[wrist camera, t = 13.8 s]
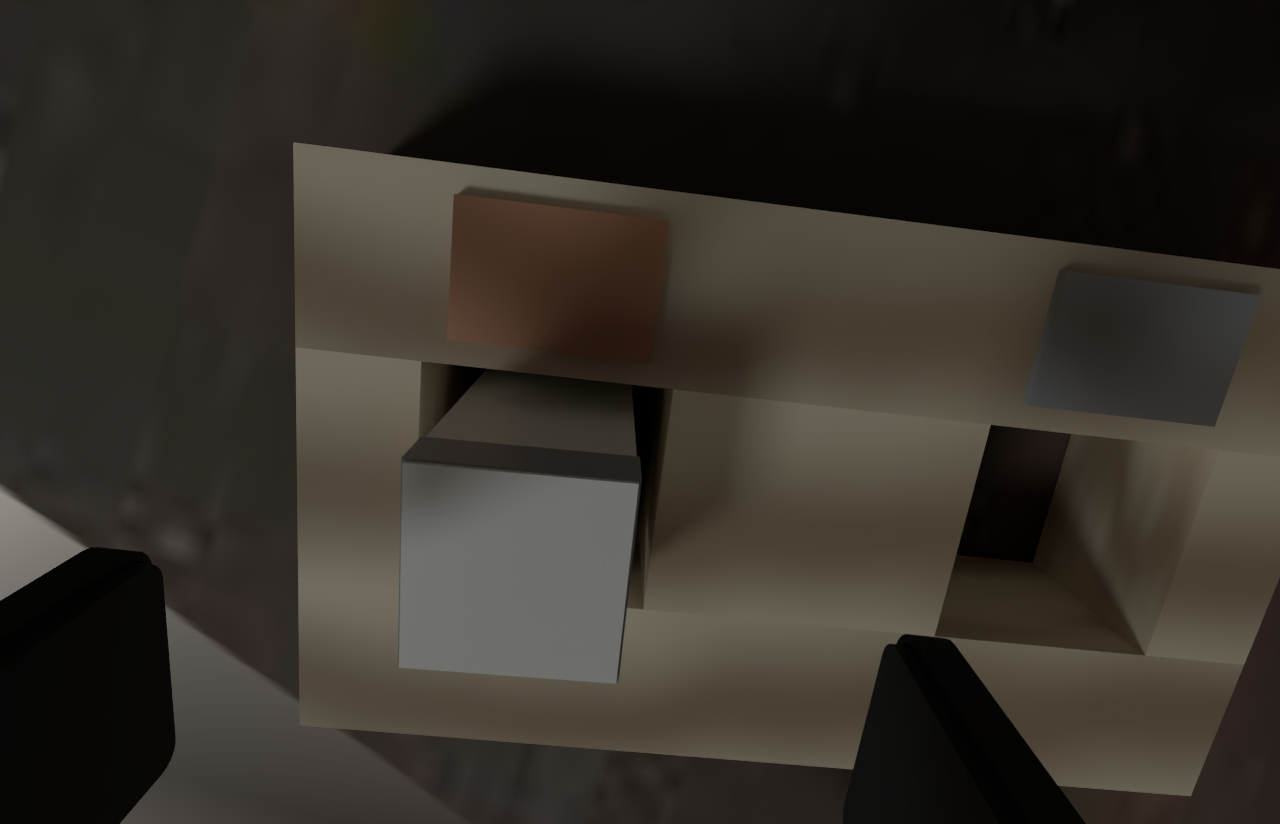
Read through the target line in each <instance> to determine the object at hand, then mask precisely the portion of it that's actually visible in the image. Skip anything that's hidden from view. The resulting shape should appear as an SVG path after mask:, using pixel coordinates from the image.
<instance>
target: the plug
mask: <svg viewBox="0 0 1280 824" xmlns="http://www.w3.org/2000/svg"><path fill="white" fill-rule="evenodd" d="M641 483H642V475H641V463H640V457H639V456H637V452H636V438H635V424H634V410H633V397H632V385H630V384H621V383H612V382H603V381H594V380H585V379H576V378H567V377H558V376H549V375H540V374H531V373H522V372H513V371H504V370H495V369H486V370H485V372H484V373H483V374H482V375H481V376H480V377H479V378H478V379H477V380H476V382H475V383H474V384H473V385H472V386H471V387H470V388H469V389H468V390H467V392H466V393H465V394H464V395H463V396H462V397H461V398H460V399H459V400H458V402H457V403H456V404H455V405H454V406H453V407H452V408H451V409H450V410H449V412H448V413H447V414H446V415H445V416H444V417H443V418H442V419H441V420H440V422H439V423H438V424H437V425H436V426H435V427H434V428H433V429H432V430H431V432H430V433H429V434H428V435H427V436H426V437H422V436H421V437H420V438H419V439H418V440H417V441H416V442H415V443H414V444H413V446H412V447H411V448H410V449H409V450H408V451H407V452H406V453H405V454H404V455H403V456H402V457H401V502H400V562H399V622H398V667H399V668H409V669H422V670H436V671H450V672H463V673H477V674H490V675H504V676H517V677H531V678H545V679H558V680H572V681H585V682H599V683H613V684H616V683H619V674H620V666H621V657H622V648H623V640H624V631H625V622H626V613H627V605H628V596H629V587H630V579H631V570H632V561H633V553H634V544H635V535H636V526H637V518H638V509H639V500H640V492H641Z"/></svg>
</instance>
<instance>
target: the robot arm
mask: <svg viewBox="0 0 1280 824" xmlns="http://www.w3.org/2000/svg"><path fill="white" fill-rule="evenodd" d="M174 748H175V726H174V712H173V701H172V687H171V675H170V663H169V649H168V637H167V625H166V611H165V599H164V586H163V576H162V572H161V570H160V569H159V567H157V566H155V565H152V563H151V560H150V559H149V557H148V555H146V554H144V553H143V552H137V551H128V550H118V549H109V548H100V547H91V548H89V549H86V550H84V551H82V552H80V553H79V554H77V555H75V556H74V557H72V558H70V559H69V560H67V561H65V562H64V563H62V564H60V565H59V566H57V567H56V568H54V569H52V570H51V571H49V572H48V573H46V574H44V575H42V576H41V577H39V578H37V579H36V580H34V581H33V582H31V583H29V584H28V585H26V586H24V587H23V588H21V589H19V590H17V591H16V592H14V593H13V594H11V595H9V596H8V597H6V598H4V599H3V600H1V601H0V824H120V822H121V821H122V820H123V819H124V818H125V817H126V816H127V814H128V813H129V812H130V811H131V810H132V808H133V807H134V806H135V805H136V804H137V803H138V801H139V800H140V799H141V798H142V797H143V795H144V794H145V793H146V792H147V791H148V790H149V789H150V787H151V786H152V785H153V784H154V782H156V780H157V779H158V778H159V777H160V776H161V775H162V773H163V772H164V770H165V769H166V768H167V766H168V764H169V762H170V760H171V757H172V755H173V752H174ZM843 824H1086V823H1085V822H1084V821H1083V819H1082V818H1081V817H1080V815H1079V814H1078V813H1077V811H1076V810H1075V808H1074V807H1073V806H1072V804H1071V803H1070V802H1069V800H1068V799H1067V797H1066V796H1065V795H1064V793H1063V792H1062V791H1061V789H1060V788H1059V786H1058V785H1057V784H1056V782H1055V781H1054V780H1053V778H1052V777H1051V776H1050V774H1049V773H1048V771H1047V770H1046V769H1045V767H1044V766H1043V765H1042V763H1041V762H1040V760H1039V759H1038V758H1037V756H1036V755H1035V754H1034V752H1033V751H1032V749H1031V748H1030V747H1029V745H1028V744H1027V743H1026V741H1025V740H1024V739H1023V737H1022V736H1021V734H1020V733H1019V732H1018V730H1017V729H1016V728H1015V726H1014V725H1013V723H1012V722H1011V721H1010V719H1009V718H1008V717H1007V715H1006V714H1005V712H1004V711H1003V710H1002V708H1001V707H1000V706H999V704H998V703H997V702H996V700H995V699H994V697H993V696H992V695H991V693H990V692H989V691H988V689H987V688H986V686H985V685H984V684H983V682H982V681H981V680H980V678H979V677H978V675H977V674H976V673H975V671H974V670H973V669H972V667H971V666H970V665H969V663H968V662H967V660H966V659H965V658H964V656H963V655H962V654H961V652H960V651H959V649H958V648H957V647H956V645H955V644H954V643H953V642H952V641H951V640H950V639H946V638H939V637H930V636H920V635H911V634H904V635H902V636H901V637H900V638H899V639H898V641H897V644H888V645H887V646H886V647H885V648H884V651H883V654H882V657H881V661H880V665H879V669H878V673H877V677H876V681H875V685H874V689H873V693H872V697H871V701H870V705H869V709H868V713H867V717H866V720H865V724H864V728H863V732H862V736H861V740H860V744H859V748H858V752H857V756H856V760H855V764H854V768H853V772H852V776H851V780H850V784H849V788H848V792H847V796H846V799H845V803H844V809H843Z"/></svg>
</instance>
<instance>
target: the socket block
mask: <svg viewBox="0 0 1280 824" xmlns="http://www.w3.org/2000/svg"><path fill="white" fill-rule="evenodd" d="M293 154H294V243H295V333H296V422H297V512H298V601H299V690H300V725H302V726H303V725H304V726H316V727H327V728H340V729H353V730H365V731H378V732H390V733H403V734H415V735H428V736H441V737H453V738H466V739H478V740H491V741H503V742H516V743H529V744H541V745H554V746H566V747H579V748H591V749H604V750H617V751H629V752H642V753H654V754H667V755H679V756H692V757H705V758H717V759H730V760H742V761H755V762H767V763H780V764H793V765H805V766H818V767H830V768H843V769H853V768H854V764H855V760H856V756H857V752H858V748H859V744H860V740H861V736H862V732H863V728H864V724H865V720H866V717H867V713H868V709H869V705H870V701H871V697H872V693H873V689H874V685H875V681H876V677H877V673H878V669H879V665H880V661H881V657H882V654H883V651H884V648H885V647H886V646H887V645H888V644H897V641H898V639H899V638H900V637H901V636H902V635H904V634H911V635H920V636H930V637H939V638H946V639H950V640H951V641H952V642H953V643H954V644H955V645H956V647H957V648H958V649H959V651H960V652H961V654H962V655H963V656H964V658H965V659H966V660H967V662H968V663H969V665H970V666H971V667H972V669H973V670H974V671H975V673H976V674H977V675H978V677H979V678H980V680H981V681H982V682H983V684H984V685H985V686H986V688H987V689H988V691H989V692H990V693H991V695H992V696H993V697H994V699H995V700H996V702H997V703H998V704H999V706H1000V707H1001V708H1002V710H1003V711H1004V712H1005V714H1006V715H1007V717H1008V718H1009V719H1010V721H1011V722H1012V723H1013V725H1014V726H1015V728H1016V729H1017V730H1018V732H1019V733H1020V734H1021V736H1022V737H1023V739H1024V740H1025V741H1026V743H1027V744H1028V745H1029V747H1030V748H1031V749H1032V751H1033V752H1034V754H1035V755H1036V756H1037V758H1038V759H1039V760H1040V762H1041V763H1042V765H1043V766H1044V767H1045V769H1046V770H1047V771H1048V773H1049V774H1050V776H1051V777H1052V778H1053V780H1054V781H1055V782H1056V784H1057V785H1058V786H1069V787H1082V788H1094V789H1107V790H1120V791H1132V792H1145V793H1157V794H1170V795H1182V796H1191V794H1192V791H1193V789H1194V787H1195V784H1196V782H1197V779H1198V777H1199V774H1200V772H1201V769H1202V767H1203V764H1204V762H1205V759H1206V757H1207V755H1208V752H1209V750H1210V747H1211V745H1212V742H1213V740H1214V737H1215V735H1216V732H1217V730H1218V728H1219V725H1220V723H1221V720H1222V718H1223V715H1224V713H1225V710H1226V708H1227V705H1228V703H1229V700H1230V698H1231V696H1232V693H1233V691H1234V688H1235V686H1236V683H1237V681H1238V678H1239V676H1240V673H1241V671H1242V668H1243V666H1244V664H1245V661H1246V659H1247V656H1248V654H1249V651H1250V649H1251V646H1252V644H1253V641H1254V639H1255V637H1256V634H1257V632H1258V629H1259V627H1260V624H1261V622H1262V619H1263V617H1264V614H1265V612H1266V609H1267V607H1268V605H1269V602H1270V600H1271V597H1272V595H1273V592H1274V590H1275V587H1276V585H1277V582H1278V580H1279V577H1280V269H1274V268H1266V267H1258V266H1251V265H1243V264H1235V263H1227V262H1220V261H1212V260H1204V259H1196V258H1188V257H1181V256H1173V255H1165V254H1157V253H1150V252H1142V251H1134V250H1126V249H1119V248H1111V247H1103V246H1095V245H1087V244H1080V243H1072V242H1064V241H1056V240H1049V239H1041V238H1033V237H1025V236H1017V235H1010V234H1002V233H994V232H986V231H979V230H971V229H963V228H955V227H947V226H940V225H932V224H924V223H916V222H909V221H901V220H893V219H885V218H878V217H870V216H862V215H854V214H846V213H839V212H831V211H823V210H815V209H808V208H800V207H792V206H784V205H776V204H769V203H761V202H753V201H745V200H738V199H730V198H722V197H714V196H706V195H699V194H691V193H683V192H675V191H668V190H660V189H652V188H644V187H637V186H629V185H621V184H613V183H605V182H598V181H590V180H582V179H574V178H567V177H559V176H551V175H543V174H535V173H528V172H520V171H512V170H504V169H497V168H489V167H481V166H473V165H465V164H458V163H450V162H442V161H434V160H427V159H419V158H411V157H403V156H396V155H388V154H380V153H372V152H364V151H357V150H349V149H341V148H333V147H326V146H318V145H310V144H302V143H294V142H293ZM467 366H468V367H477V368H486V369H495V370H504V371H513V372H522V373H531V374H540V375H549V376H558V377H567V378H576V379H585V380H594V381H603V382H612V383H621V384H630V385H639V386H648V387H656V390H655V398H654V405H653V413H652V421H651V428H650V436H649V444H648V451H647V459H646V467H645V474H644V482H643V490H642V497H641V505H640V513H639V520H638V523H637V526H636V535H635V544H634V553H633V561H632V570H631V579H630V587H629V596H628V605H627V613H626V622H625V631H624V640H623V648H622V657H621V666H620V674H619V683H616V684H613V683H599V682H585V681H572V680H558V679H545V678H531V677H517V676H504V675H490V674H477V673H463V672H450V671H436V670H422V669H409V668H399V667H398V622H399V562H400V502H401V457H402V456H403V455H404V454H405V453H406V452H407V451H408V450H409V449H410V448H411V447H412V446H413V444H414V443H415V442H416V441H417V440H418V439H419V438H420V437H421V436H422V437H426V436H427V435H428V434H429V433H430V432H431V430H432V429H433V428H434V427H435V426H436V425H437V424H438V423H439V422H440V420H441V419H442V418H443V417H444V416H445V415H446V414H447V413H448V412H449V410H450V409H451V408H452V407H453V406H454V405H455V404H456V403H457V402H458V400H459V399H460V398H461V397H462V396H463V395H464V394H465V393H466V376H467ZM991 425H998V426H1007V427H1016V428H1025V429H1034V430H1043V431H1052V432H1061V433H1070V434H1071V437H1070V440H1069V444H1068V447H1067V450H1066V454H1065V457H1064V460H1063V464H1062V467H1061V470H1060V474H1059V477H1058V480H1057V484H1056V487H1055V490H1054V494H1053V497H1052V500H1051V504H1050V507H1049V510H1048V514H1047V517H1046V520H1045V524H1044V527H1043V530H1042V534H1041V537H1040V540H1039V544H1038V547H1037V550H1036V554H1035V557H1034V560H1033V563H1031V562H1021V561H1011V560H1001V559H991V558H981V557H971V556H961V555H956V554H957V550H958V546H959V542H960V539H961V535H962V531H963V527H964V524H965V520H966V516H967V512H968V509H969V505H970V501H971V497H972V494H973V490H974V486H975V482H976V479H977V475H978V471H979V467H980V464H981V460H982V456H983V452H984V449H985V445H986V441H987V437H988V434H989V430H990V426H991Z"/></svg>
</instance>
